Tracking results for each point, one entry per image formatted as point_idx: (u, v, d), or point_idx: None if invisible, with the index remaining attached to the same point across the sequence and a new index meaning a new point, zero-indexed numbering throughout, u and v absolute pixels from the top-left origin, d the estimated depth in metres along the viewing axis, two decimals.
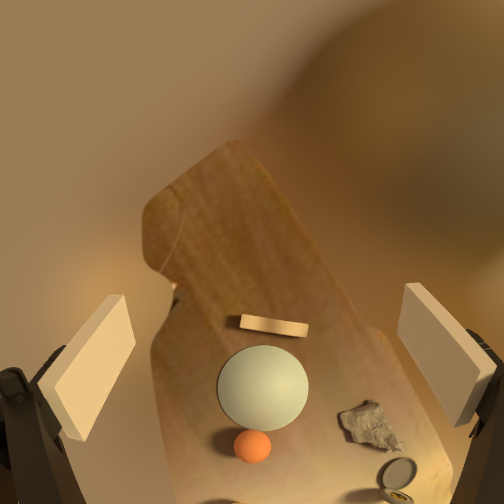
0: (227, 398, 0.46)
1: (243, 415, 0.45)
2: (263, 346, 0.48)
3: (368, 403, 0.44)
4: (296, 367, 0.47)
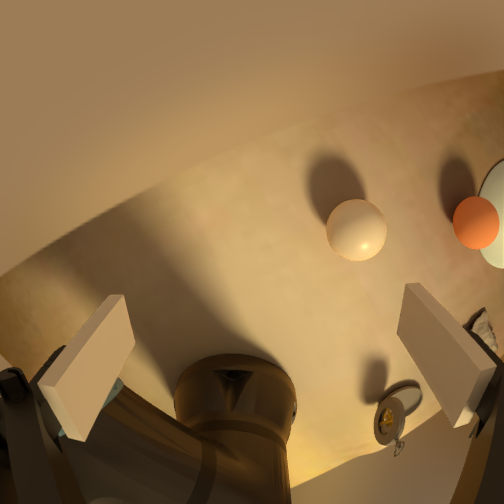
0: (503, 173, 0.27)
1: (490, 197, 0.28)
2: None
3: (491, 334, 0.34)
4: None
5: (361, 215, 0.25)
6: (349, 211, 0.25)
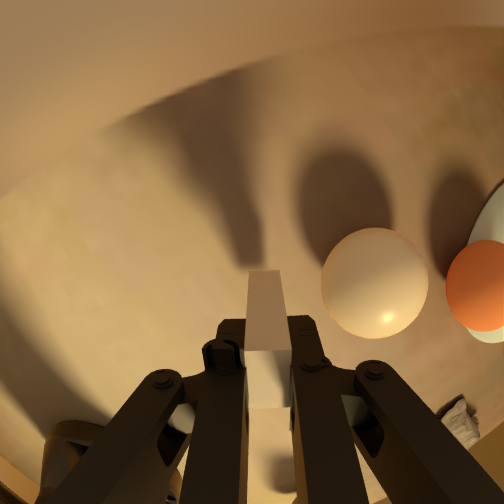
0: None
1: (490, 236, 0.17)
2: None
3: (473, 419, 0.22)
4: None
5: None
6: None
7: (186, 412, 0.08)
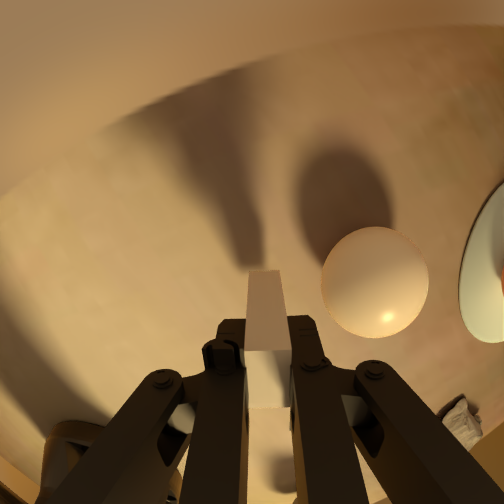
0: None
1: (490, 236, 0.17)
2: None
3: (475, 418, 0.22)
4: None
5: None
6: None
7: (186, 413, 0.08)
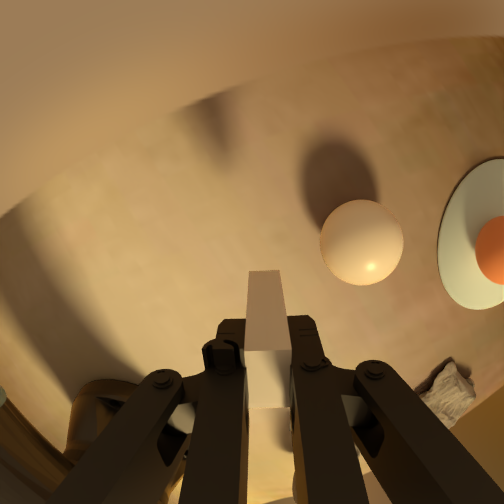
0: (486, 180, 0.20)
1: (463, 213, 0.21)
2: None
3: (467, 380, 0.27)
4: None
5: None
6: None
7: (186, 413, 0.08)
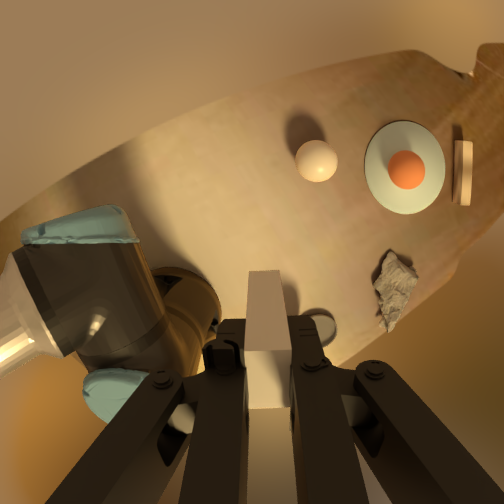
0: (392, 132, 0.40)
1: (379, 151, 0.41)
2: (443, 163, 0.41)
3: (410, 268, 0.46)
4: (429, 198, 0.43)
5: None
6: None
7: (186, 413, 0.08)
